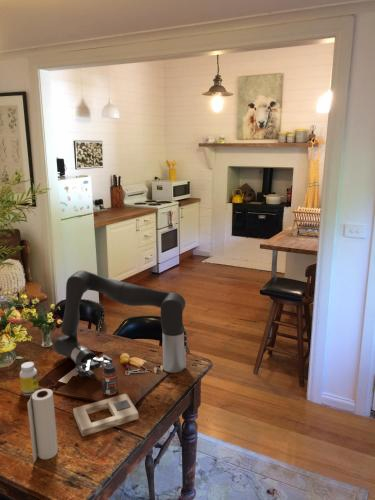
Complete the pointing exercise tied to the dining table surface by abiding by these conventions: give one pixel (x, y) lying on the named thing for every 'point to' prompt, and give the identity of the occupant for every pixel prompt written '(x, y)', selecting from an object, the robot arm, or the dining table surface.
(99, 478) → the dining table surface
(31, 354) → the dining table surface
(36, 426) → the paper towel roll
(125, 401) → the board
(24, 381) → the pill bottle
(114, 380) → the supplement bottle
